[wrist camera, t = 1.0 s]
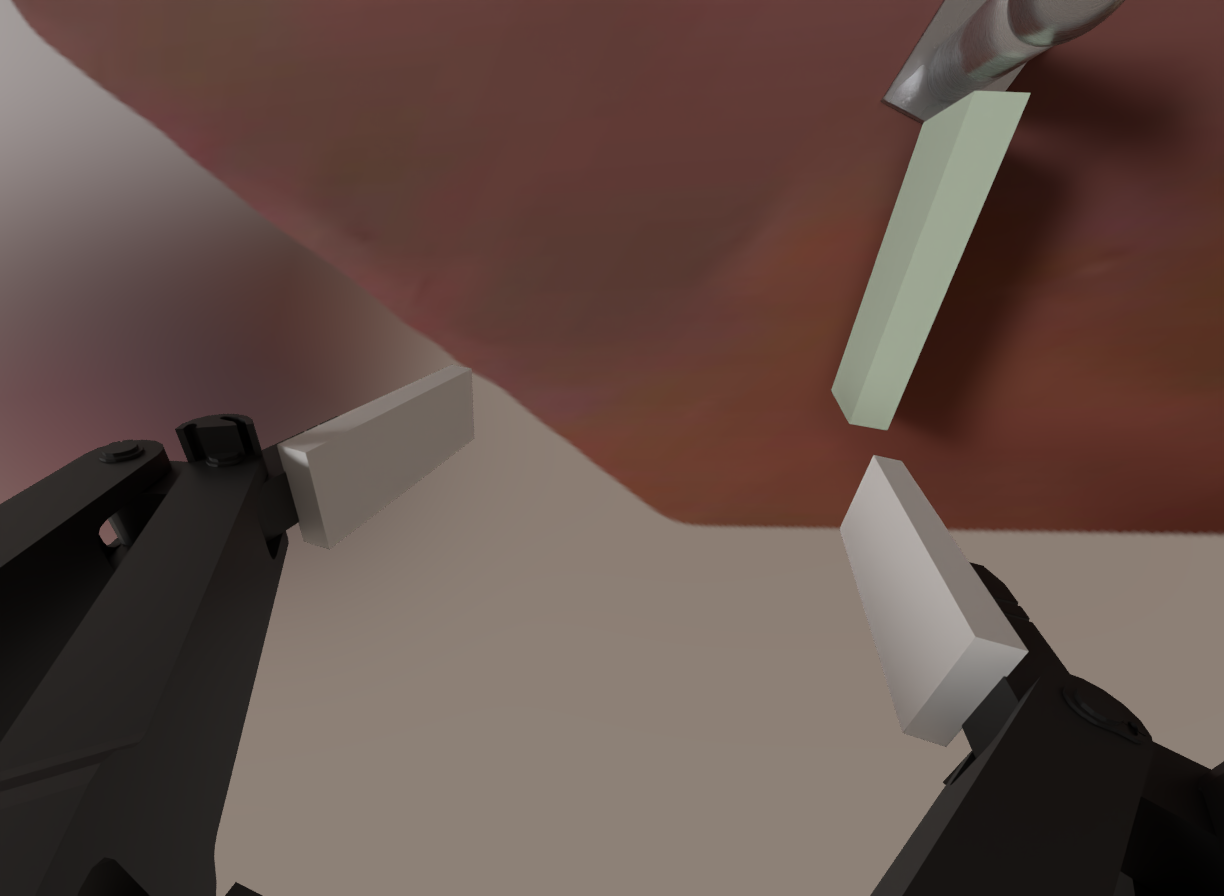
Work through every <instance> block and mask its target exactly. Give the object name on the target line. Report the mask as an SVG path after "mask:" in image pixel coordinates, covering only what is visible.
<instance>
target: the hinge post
mask: <svg viewBox="0 0 1224 896" xmlns="http://www.w3.org/2000/svg"><path fill="white" fill-rule="evenodd" d="M1124 1H1125V0H944V1H943V3H942V4H941V6H940V7H939V9H938V11H937V12H936V14H935V15H934V17H933V19H932V20H931V22H930V23H929V25H928V27H927V28H926V30H925V31H924V33H923V35H922V36H921V38H920V39H919V41H918V43H917V44H916V46H915V47H914V49H913V51H912V52H911V54H910V55H909V57H908V59H907V60H906V62H905V63H904V65H903V67H902V68H901V70H900V71H899V73H898V75H897V76H896V78H895V79H894V81H893V83H892V84H891V86H890V87H889V89H888V91H887V92H886V94H885V95H884V97H883V99H882V100H881V102H882V103H884V104H886V105H887V106H889V107H891V108H893V109H895V110H897V111H899V112H901V113H902V114H904V115H906V116H908V117H910V118H912V119H914V120H916V121H917V122H919V123H921V124H923V123H924V122H925V121H927V120H929V119H930V118H932V117H933V116H935V115H937V114H938V113H940V112H941V111H943V110H945V109H946V108H948V107H949V106H951V105H953V104H954V103H956V102H957V101H959V100H961V99H962V98H964V97H965V96H967V95H969V94H970V93H972V92H974V91H998V92H1005V91H1006V90H1007V88H1008V87H1009V86H1010V84H1011V83H1012V82H1013V80H1014V79H1015V77H1016V76H1017V75H1018V73H1019V72H1020V71H1021V69H1022V68H1023V67H1024V65H1025V64H1026V63H1027V62H1028V61H1029V60H1031V59H1033V58H1034V57H1036V56H1038V55H1039V54H1041V53H1043V52H1044V51H1046V50H1047V49H1049V48H1051V47H1052V46H1055V45H1059V44H1063V43H1066V42H1069V41H1071V40H1073V39H1075V38H1077V37H1079V36H1082V35H1083V34H1085V33H1087V32H1089V31H1090V30H1092V29H1093V28H1095V27H1096V26H1097V25H1099V24H1100V23H1102V22H1103V21H1104V20H1105V19H1107V18H1108V17H1109V16H1110V15H1111V14H1112V13H1113V12H1114V11H1115V10H1116V9H1117V8H1118V7H1119V6H1120V5H1121V4H1122V3H1123V2H1124Z"/></svg>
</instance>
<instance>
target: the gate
mask: <svg viewBox="0 0 1224 896" xmlns="http://www.w3.org/2000/svg"><path fill="white" fill-rule="evenodd" d="M1030 94H1031V93H1023V92H998V91H974V92H972V93H970V94H969V95H967V96H965V97H964V98H962V99H961V100H959V101H957V102H956V103H954V104H953V105H951V106H949V107H948V108H946V109H945V110H943V111H941V112H940V113H938V114H937V115H935V116H933V117H932V118H930V119H929V120H927V121H925V122H924V123H923V125H922V128H921V131H920V134H919V137H918V140H917V143H916V146H915V149H914V152H913V155H912V157H911V160H910V163H909V166H908V169H907V172H906V175H905V178H904V181H903V184H902V187H901V189H900V192H899V195H898V198H897V201H896V204H895V207H894V210H893V213H892V216H891V218H890V221H889V224H888V227H887V230H886V233H885V236H884V239H883V242H882V245H881V248H880V250H879V253H878V256H877V259H876V262H875V265H874V268H873V271H872V274H871V277H870V280H869V282H868V285H867V288H866V291H865V294H864V297H863V300H862V303H861V306H860V309H859V312H858V314H857V317H856V320H855V323H854V326H853V329H852V332H851V335H850V338H849V341H848V343H847V346H846V349H845V352H844V355H843V358H842V361H841V364H840V367H839V370H838V373H837V375H836V378H835V381H834V384H833V387H832V390H831V391H832V393H833V395H834V397H835V398H836V400H837V402H838V404H839V406H840V408H841V410H842V411H843V413H844V415H845V417H846V419H847V421H848V422H849V424H854V425H860V426H865V427H871V428H876V429H882V430H888V428H889V425H890V423H891V421H892V418H893V416H894V413H895V411H896V409H897V406H898V404H899V402H900V399H901V397H902V395H903V392H904V390H905V388H906V385H907V383H908V381H909V378H910V376H911V374H912V371H913V369H914V367H915V364H916V362H917V359H918V357H919V355H920V352H921V350H922V348H923V345H924V343H925V341H926V338H927V336H928V334H929V331H930V329H931V327H932V324H933V322H934V320H935V317H936V315H937V312H938V310H939V308H940V305H941V303H942V301H943V298H944V296H945V294H946V291H947V289H948V287H949V284H950V282H951V280H952V277H953V275H954V273H955V270H956V268H957V265H958V263H959V261H960V258H961V256H962V254H963V251H964V249H965V247H966V244H967V242H968V240H969V237H970V235H971V233H972V230H973V228H974V226H975V223H976V221H977V218H978V216H979V214H980V211H981V209H982V207H983V204H984V202H985V200H986V197H987V195H988V193H989V190H990V188H991V186H992V183H993V181H994V179H995V176H996V174H997V171H998V169H999V167H1000V164H1001V162H1002V160H1003V157H1004V155H1005V153H1006V150H1007V148H1008V146H1009V143H1010V141H1011V139H1012V136H1013V134H1014V132H1015V129H1016V127H1017V124H1018V122H1019V120H1020V117H1021V115H1022V113H1023V110H1024V108H1025V106H1026V103H1027V101H1028V99H1029V96H1030Z"/></svg>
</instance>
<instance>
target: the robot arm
mask: <svg viewBox="0 0 1224 896" xmlns="http://www.w3.org/2000/svg"><path fill="white" fill-rule="evenodd" d="M175 430H176V433H177V435H178V438H179V440H180V443H181V445H182V448H183V450H184V453H185V455H186V458H187V460H188V462H181V461H180V462H179V461H169V459H168V456H167V454H166V452H165V449H164V447H163V444H161V443H159V442H157V441H150V440H124V441H122V442H120V441H118V442H113V443H111V444H109V445H107V446H103V447H100V448H97V449H95V450H93V451H90V452H88V453H86V454H84V455H83V456H81V457H79V458H78V459H76V460H74V461H72V462H71V463H69V464H67V465H66V466H64V467H62V468H61V469H59V470H57V471H56V472H54V473H52V474H51V475H49V476H47V477H45V478H44V479H42V480H40V481H39V482H37V483H36V484H34V485H32V486H30V487H29V488H27V489H25V490H24V491H22V492H20V493H19V494H17V495H15V496H13V497H12V498H10V499H8V500H7V501H5V502H3V503H2V504H0V896H216V873H215V862H214V849H215V842H216V836H217V831H218V827H219V823H220V819H221V815H222V811H223V807H224V803H225V799H226V795H227V791H228V787H229V783H230V779H231V775H232V770H233V766H234V762H235V758H236V754H237V750H238V746H239V742H240V738H241V733H242V730H243V725H244V722H245V717H246V714H247V710H248V706H249V702H250V697H251V693H252V689H253V685H254V681H255V677H256V673H257V669H258V665H259V661H260V657H261V653H262V648H263V645H264V641H265V636H266V633H267V628H268V624H269V620H270V616H271V612H272V608H273V604H274V599H275V596H276V592H277V588H278V584H279V580H280V576H281V572H282V568H283V563H284V559H285V555H286V551H287V547H288V536H287V533H286V530H287V529H289V528H290V527H292V526H293V525H295V524H296V523H298V522H299V526H300V529H301V533H302V537H303V540H304V541H305V542H307V543H310V544H314V545H317V546H320V547H323V548H326V549H329V550H330V549H331V548H332V547H333V546H335V545H336V544H337V543H339V542H340V541H341V540H343V539H344V538H345V537H347V536H348V535H349V534H351V533H352V532H353V531H354V530H356V529H357V528H358V527H360V526H361V525H362V524H363V523H365V522H366V521H367V520H369V519H370V518H371V517H373V516H374V515H375V514H377V513H378V512H379V511H381V510H382V509H383V508H384V507H386V506H387V505H388V504H390V503H391V502H392V501H394V500H395V499H396V498H398V497H399V496H400V495H401V494H403V493H404V492H405V491H406V490H408V489H409V488H410V487H412V486H413V485H414V484H416V483H417V482H418V481H420V480H421V479H422V478H424V477H425V476H426V475H427V474H429V473H430V472H431V471H433V470H434V469H435V468H437V467H438V466H439V465H441V464H442V463H443V462H444V461H446V460H447V459H448V458H449V457H451V456H452V455H454V454H455V453H456V452H457V451H459V450H460V449H461V448H463V447H464V446H465V445H466V444H468V443H469V442H470V441H472V440H473V439H474V422H473V395H472V369H470V368H466V367H461V366H456V365H450V366H448V367H445V368H443V369H441V370H439V371H437V372H435V373H432V374H430V375H428V376H426V377H424V378H421V379H420V380H417V381H415V382H413V383H411V384H409V385H406V386H404V387H402V388H400V389H397V390H395V391H393V392H391V393H389V394H387V395H384V396H382V397H380V398H378V399H376V400H373V401H371V402H369V403H367V404H365V405H362V406H361V407H358V408H356V409H354V410H352V411H350V412H347V413H345V414H343V415H341V416H336V417H334V418H332V419H330V420H327V421H325V422H323V423H321V424H320V425H319V426H317V425H316V426H314V427H312V428H310V429H308V430H307V431H306V432H301V433H299V434H297V435H295V436H292V437H290V438H288V439H286V440H284V441H281V442H279V443H277V444H275V445H272V446H270V447H268V448H266V449H264V450H261V447H260V443H259V440H258V437H257V433H256V430H255V427H254V423H253V420H252V419H251V418H249V417H248V416H244V415H239V414H219V415H211V416H205V417H201V418H197V419H194V420H191V421H189V422H186V423H183V424H181V425H180V426H179V427H177V428H176V429H175ZM107 519H108V520H109V522H110V524H111V526H112V527H113V529H114V531H115V533H116V535H117V537H118V538H117V539H116V540H114V541H113V542H112V543H111V544H110V545H106V544H105V543H104V542H103V541H102V539H101V537H100V535H99V530H100V527H101V526H102V524H104V522H105V521H106V520H107ZM840 532H841V535H842V538H843V541H844V545H845V548H846V551H847V555H848V558H849V561H850V564H851V568H852V571H853V574H854V577H855V581H856V584H857V587H858V590H859V594H860V596H861V600H862V603H863V606H864V610H865V613H866V616H867V620H868V623H869V626H870V629H871V632H872V636H873V639H874V642H875V645H876V648H877V652H878V655H879V659H880V662H881V665H882V668H883V671H884V675H885V678H886V681H887V684H888V687H889V691H890V694H891V697H892V701H893V703H894V707H895V710H896V714H897V717H898V720H899V723H900V727H901V730H902V733H904V734H907V735H910V736H914V737H917V738H920V739H923V740H926V741H929V742H932V743H935V744H939V745H942V746H945V747H946V746H947V745H948V744H949V743H950V742H951V741H952V740H953V738H954V737H955V736H956V735H957V734H958V733H959V732H960V730H961V729H962V728H963V730H964V732H965V735H966V737H967V739H968V741H969V744H970V746H971V749H972V751H971V752H970V753H969V754H968V755H967V757H966V758H965V759H964V760H963V761H962V762H961V763H960V764H959V765H958V766H957V767H956V769H955V770H954V771H953V772H952V773H951V774H950V775H949V776H948V777H947V778H946V779H945V780H944V781H943V783H944V784H945V785H946V786H945V788H944V789H943V790H942V792H941V793H940V795H939V796H938V797H937V799H936V800H935V802H934V804H933V805H932V806H931V808H930V809H929V811H928V812H927V814H926V815H925V816H924V818H923V819H922V821H921V822H920V824H919V825H918V827H917V828H916V830H915V831H914V833H913V834H912V835H911V837H910V838H909V840H908V841H907V843H906V844H905V846H904V847H903V849H902V850H901V852H900V853H899V855H898V856H897V857H896V859H895V860H894V862H893V863H892V865H891V866H890V868H889V869H888V871H887V872H886V874H885V875H884V877H883V878H882V879H881V881H880V882H879V884H878V885H877V887H876V888H875V890H874V891H873V893H872V894H871V896H1224V762H1222V763H1221V764H1219V765H1218V766H1216V767H1215V768H1214V769H1212V770H1211V769H1209V768H1207V767H1204V766H1203V765H1200V764H1198V763H1196V762H1194V761H1192V760H1190V759H1188V758H1186V757H1184V756H1182V755H1180V754H1178V753H1175V752H1174V751H1172V750H1169V749H1168V748H1165V747H1163V746H1161V745H1159V744H1157V743H1155V742H1153V741H1152V737H1151V735H1150V734H1149V732H1148V731H1147V729H1146V728H1145V726H1144V725H1143V724H1142V722H1141V721H1140V720H1139V719H1138V718H1137V717H1136V716H1135V715H1134V714H1133V713H1132V712H1131V711H1130V710H1129V709H1128V708H1127V707H1126V706H1124V705H1123V704H1122V703H1121V702H1119V701H1118V700H1116V699H1115V698H1114V697H1112V696H1111V695H1110V694H1108V693H1107V692H1105V691H1104V690H1103V689H1101V688H1099V687H1097V686H1095V685H1093V684H1091V683H1090V682H1088V681H1086V680H1084V679H1082V678H1079V677H1076V676H1073V675H1071V674H1069V672H1068V671H1067V669H1066V668H1065V667H1064V665H1063V664H1062V663H1061V661H1060V660H1059V658H1058V657H1057V656H1056V654H1055V653H1054V652H1053V650H1052V649H1051V647H1050V646H1049V645H1048V643H1047V642H1046V640H1045V639H1044V638H1043V636H1042V635H1041V634H1040V632H1039V631H1038V629H1037V628H1036V627H1035V625H1034V624H1033V623H1032V622H1029V617H1028V616H1027V614H1026V613H1025V611H1024V610H1023V609H1022V608H1021V607H1020V606H1018V602H1017V601H1016V599H1015V598H1014V596H1013V595H1012V594H1011V592H1010V591H1009V589H1008V588H1007V587H1006V585H1005V584H1004V583H1003V582H1001V581H1000V580H999V579H998V578H997V577H996V576H994V575H993V574H992V573H991V572H990V571H989V570H987V569H986V568H985V567H984V566H982V565H978V564H974V563H970V562H969V561H968V560H967V558H966V557H965V555H964V554H963V552H962V551H961V549H960V548H959V546H958V545H957V543H956V542H955V540H954V539H953V537H952V536H951V534H950V533H949V531H948V530H947V528H946V527H945V525H944V524H943V522H942V521H941V519H940V518H939V516H938V515H937V513H936V512H935V510H934V509H933V507H932V506H931V504H930V503H929V501H928V500H927V498H926V497H925V495H924V494H923V492H922V491H921V489H920V488H919V486H918V485H917V483H916V482H915V480H914V479H913V477H912V476H911V474H910V473H909V471H908V470H907V468H906V467H905V465H904V464H903V462H902V461H899V460H894V459H889V458H885V457H880V456H876V455H873V457H872V460H871V462H870V464H869V466H868V468H867V471H866V473H865V475H864V477H863V479H862V481H861V484H860V486H859V488H858V490H857V492H856V494H855V497H854V499H853V501H852V503H851V505H850V507H849V510H848V512H847V514H846V516H845V518H844V521H843V523H842V525H841V527H840ZM225 896H262V895H260V894H258V893H256V892H254V891H252V890H250V889H248V888H246V887H244V886H243V885H240V884H239V883H237V882H235V884H234V885H233V886H232V888H231V889H230V890H229V891H228V893H227V894H226V895H225Z"/></svg>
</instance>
